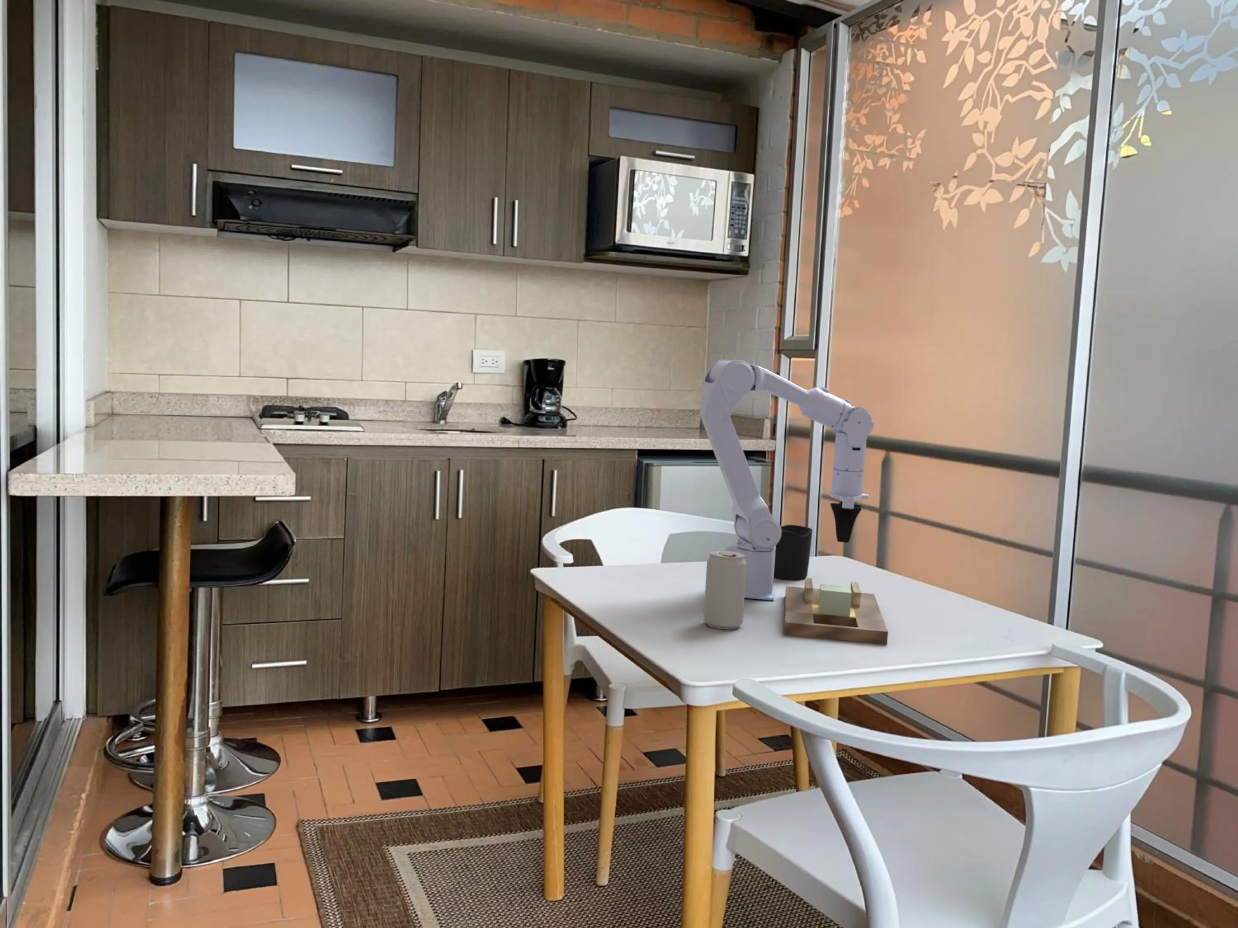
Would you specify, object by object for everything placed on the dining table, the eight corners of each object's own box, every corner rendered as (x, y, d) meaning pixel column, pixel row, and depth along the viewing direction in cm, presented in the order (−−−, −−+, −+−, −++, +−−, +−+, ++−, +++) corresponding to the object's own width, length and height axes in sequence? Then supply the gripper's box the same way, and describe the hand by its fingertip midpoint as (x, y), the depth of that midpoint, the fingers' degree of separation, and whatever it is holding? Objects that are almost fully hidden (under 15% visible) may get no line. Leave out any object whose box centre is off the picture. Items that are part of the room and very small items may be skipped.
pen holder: (808, 582, 207) (812, 533, 206) (761, 578, 209) (764, 529, 208) (809, 573, 216) (813, 526, 215) (764, 569, 218) (767, 522, 217)
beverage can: (716, 631, 165) (721, 557, 164) (695, 621, 171) (700, 550, 169) (749, 629, 168) (755, 556, 167) (728, 619, 174) (732, 548, 172)
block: (819, 613, 172) (820, 590, 172) (818, 606, 177) (820, 583, 177) (849, 616, 172) (851, 592, 171) (848, 609, 177) (849, 586, 176)
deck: (784, 634, 166) (786, 606, 165) (785, 596, 193) (787, 572, 193) (887, 644, 163) (889, 616, 163) (873, 604, 191) (875, 580, 190)
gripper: (873, 475, 186) (867, 549, 188) (867, 467, 201) (861, 537, 202) (833, 472, 187) (827, 546, 189) (830, 465, 202) (825, 534, 203)
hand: (842, 541), depth 195 cm, fingers closed
